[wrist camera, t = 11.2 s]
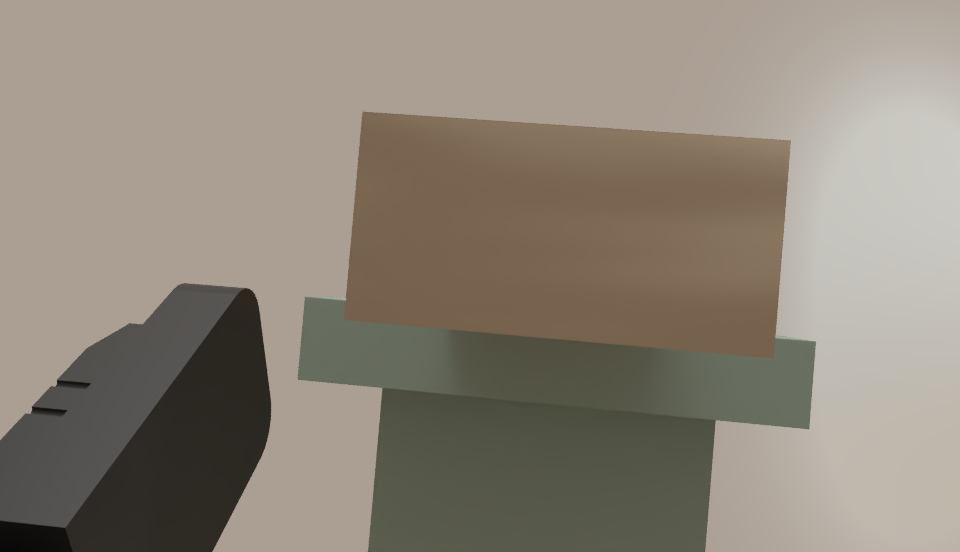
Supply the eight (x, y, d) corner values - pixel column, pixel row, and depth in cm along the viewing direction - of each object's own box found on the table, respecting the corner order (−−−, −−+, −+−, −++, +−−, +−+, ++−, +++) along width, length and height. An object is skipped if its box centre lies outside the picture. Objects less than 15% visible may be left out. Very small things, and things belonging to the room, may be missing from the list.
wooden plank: (497, 304, 38) (502, 249, 38) (609, 314, 37) (613, 258, 37) (344, 319, 10) (362, 111, 10) (773, 358, 10) (791, 140, 10)
